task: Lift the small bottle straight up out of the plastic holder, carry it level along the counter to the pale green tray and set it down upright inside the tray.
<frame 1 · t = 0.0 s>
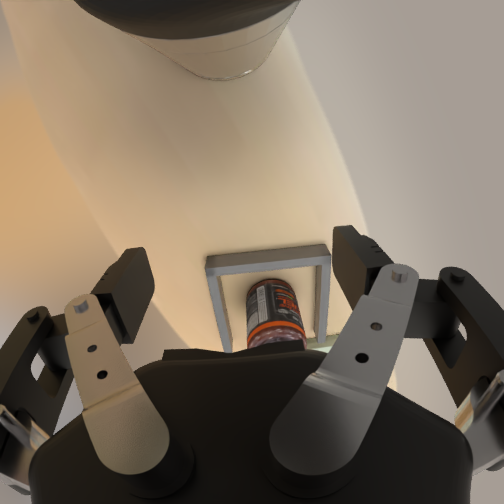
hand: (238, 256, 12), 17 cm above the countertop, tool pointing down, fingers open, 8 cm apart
holder: (270, 297, 35), on the countertop
supplement bottle: (270, 296, 35), on the countertop
tray: (302, 366, 41), on the countertop
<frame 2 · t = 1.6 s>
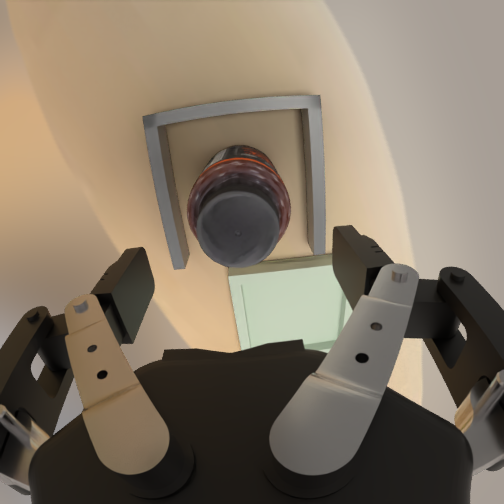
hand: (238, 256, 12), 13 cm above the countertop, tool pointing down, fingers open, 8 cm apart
holder: (240, 178, 24), on the countertop
supplement bottle: (240, 178, 24), on the countertop
tray: (294, 308, 30), on the countertop
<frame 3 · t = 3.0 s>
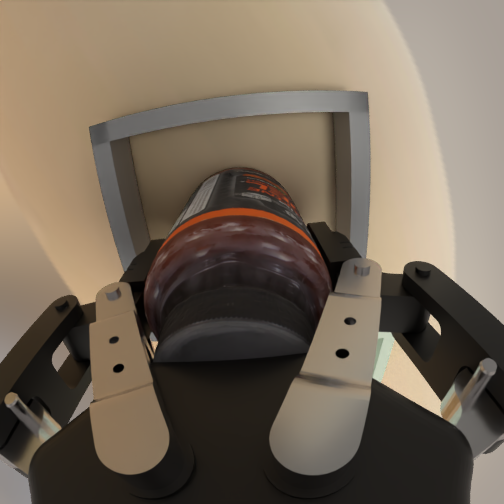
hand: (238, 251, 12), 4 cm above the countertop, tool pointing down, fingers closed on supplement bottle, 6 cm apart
holder: (240, 217, 16), on the countertop
supplement bottle: (240, 215, 16), on the countertop, touching gripper
tray: (308, 373, 22), on the countertop
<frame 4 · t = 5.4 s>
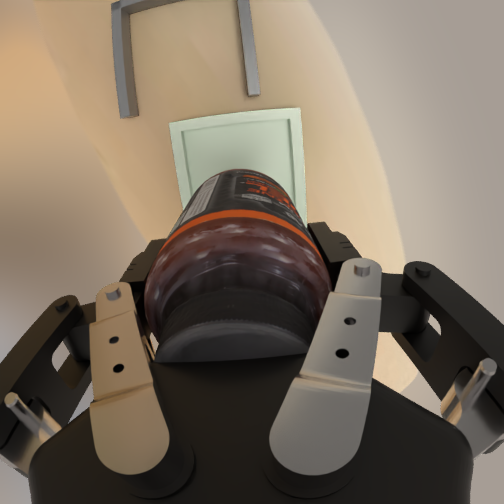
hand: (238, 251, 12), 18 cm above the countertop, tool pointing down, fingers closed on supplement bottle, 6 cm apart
holder: (184, 44, 22), on the countertop
supplement bottle: (240, 216, 16), point 13 cm above the countertop, touching gripper
tray: (241, 171, 28), on the countertop
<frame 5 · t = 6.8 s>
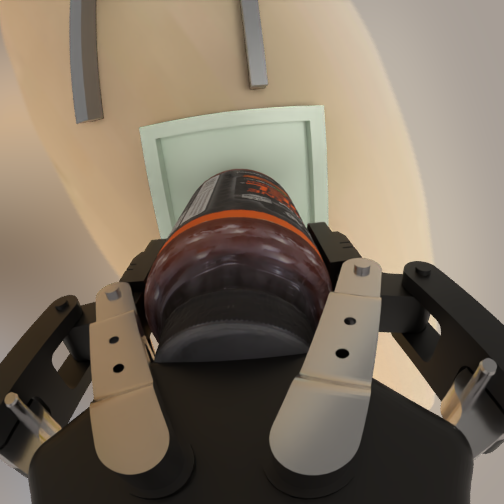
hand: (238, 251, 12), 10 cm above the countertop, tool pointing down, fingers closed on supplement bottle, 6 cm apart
holder: (164, 21, 15), on the countertop
supplement bottle: (240, 216, 16), point 5 cm above the countertop, touching gripper
tray: (240, 192, 21), on the countertop
when the fingers open (6 cm above the countertop, at t = 8.1 s): supplement bottle stays where it is, resting on tray.
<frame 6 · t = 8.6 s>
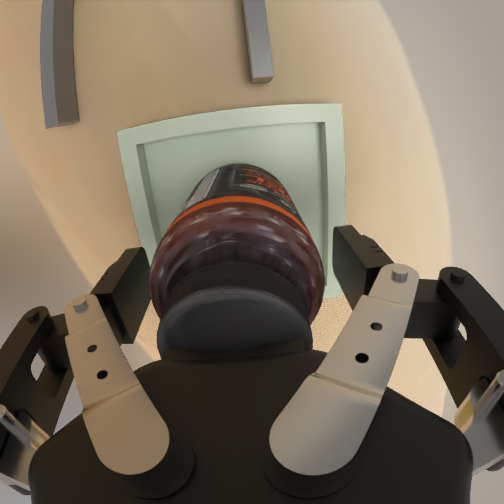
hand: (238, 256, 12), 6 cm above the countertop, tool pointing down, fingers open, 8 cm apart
holder: (149, 6, 12), on the countertop
supplement bottle: (239, 209, 17), point 1 cm above the countertop, touching tray
tray: (239, 208, 18), on the countertop
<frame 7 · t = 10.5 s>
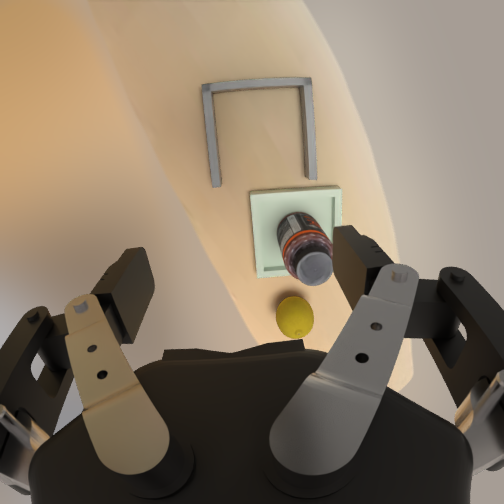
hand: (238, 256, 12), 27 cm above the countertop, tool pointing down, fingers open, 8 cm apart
holder: (260, 130, 35), on the countertop
supplement bottle: (297, 230, 40), point 1 cm above the countertop, touching tray
tray: (296, 229, 40), on the countertop
lemon: (290, 301, 46), on the countertop
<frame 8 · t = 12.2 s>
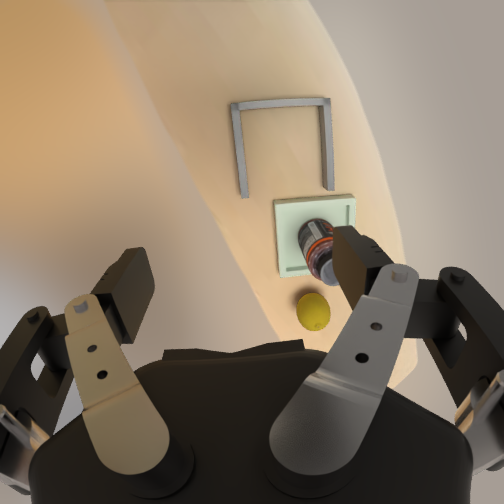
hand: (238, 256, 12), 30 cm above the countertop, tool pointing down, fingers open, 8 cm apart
holder: (283, 145, 38), on the countertop
supplement bottle: (315, 234, 44), point 1 cm above the countertop, touching tray
tray: (314, 234, 45), on the countertop
lemon: (308, 296, 50), on the countertop
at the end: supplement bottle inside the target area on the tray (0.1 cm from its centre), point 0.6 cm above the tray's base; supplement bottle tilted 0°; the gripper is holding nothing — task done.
